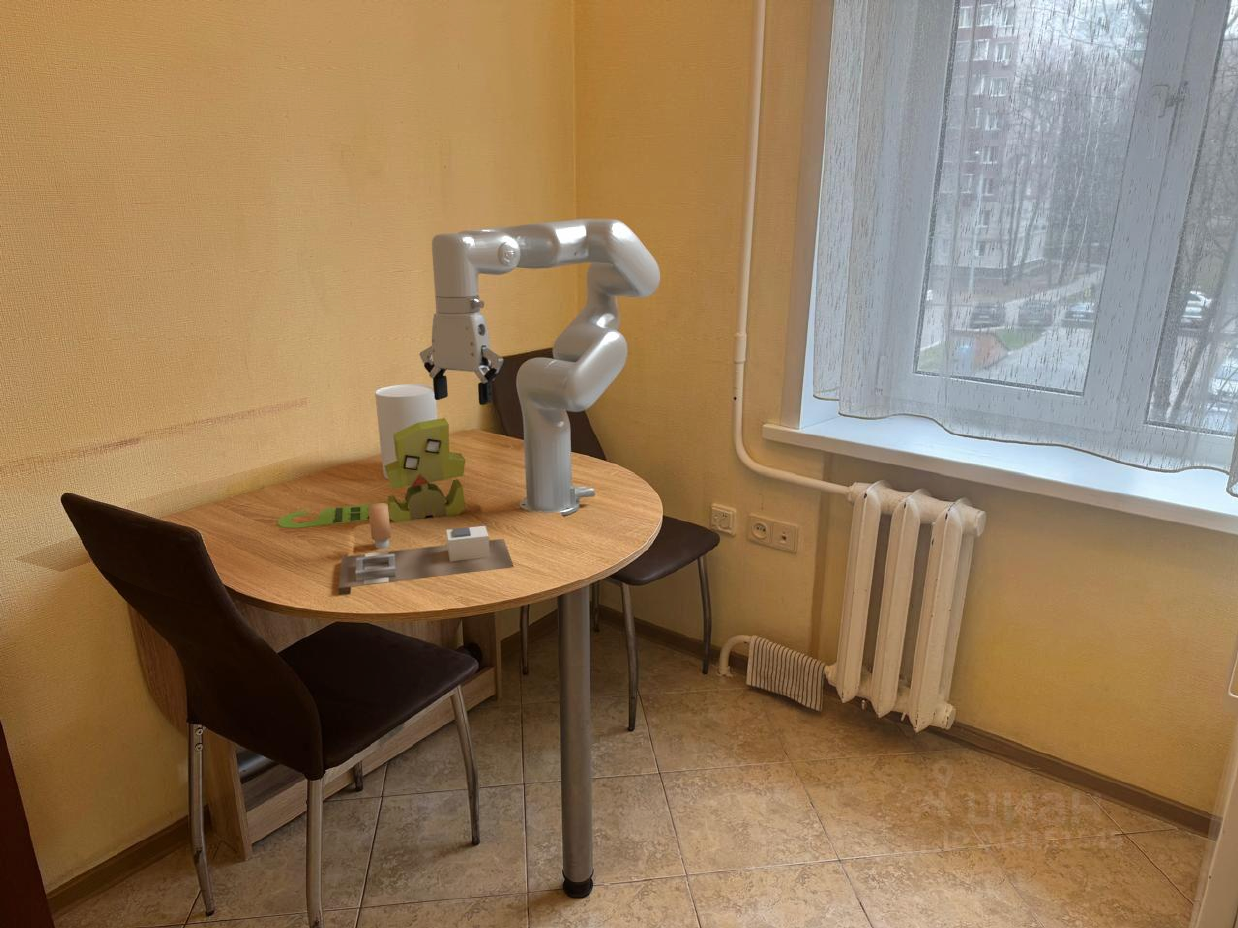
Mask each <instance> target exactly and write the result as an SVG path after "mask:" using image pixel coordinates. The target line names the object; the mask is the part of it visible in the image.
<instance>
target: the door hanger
mask: <svg viewBox="0 0 1238 928" xmlns="http://www.w3.org/2000/svg"><path fill="white" fill-rule="evenodd" d="M397 501H398V500H397ZM398 502H404V501H402V500H399V501H398ZM384 503H385V504H387V502H384ZM372 504H373V503H370V504H358V505H350V506H340V507H329V508H325V509H324V510H322V511H321V512H320V514H319V515H318V516H317V518H316V519H313V520H312V521H311V520H310V521H307V522H293V521H292V520H293V519H294V518H295V517H299V516H303V515H307V514H308V513H309V511H308V510H299V511H297V512H291V513H288V514H286V515H283V516H282V517H280V518H279V519H278V521H277V525H278V526H279V527H281V528H285V529H286V528H287V529H302V528H303V529H304V528H309V527H320V526H329V525H337V524H338V525H339V524H340V525H341V524H346V523H347V524H348V523H358V522H366V521H369V522H370V518H369V508H368V507H369V506H370V505H372Z"/></svg>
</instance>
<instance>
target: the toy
mask: <svg viewBox="0 0 1238 928" xmlns="http://www.w3.org/2000/svg"><path fill="white" fill-rule="evenodd" d="M449 425H450V424H449V423H448V421H447V419H446V418H445V417H443V418H438V419H436V420H430V421H424V422H419V423H416V424H414V425H412V426H410V427H408V428H406V429H404V430H402V431H400V432H398V433H396V434H394V443H395V453H396V458H397V461H395V462H393V463H390V464H387V465H385V469H386V473H387V476H388V479H387V480H388V482H389V484H390V487H391V490H392V491H393V490H397V489H402V488H407V487H408V488H407V491H406V492H405V493H406V494H405V496H404V501H403V502H398V500H397V498H396V497H395V496H394V495H392V494H389V495H387V498H386V499H387V500H386V503H387V505H388V512H389V520H391V521H393V522H394V523H399V522H406V521H407V522H408V521H414V520H423V519H425V518H426V517H427V516H432V517H433V518H443V517H454V516H455V517H456V516H460V515H461V513H463V511H464V510H465V509H466V508H467V506H466V500H465V499H466V498H465V494H464V488H463V487H464V486H462V484H461V482H460V480H459V479H458V478H459V477H463V476H464V472H465V467H466V465H465V464H466V459H465V457H464V456H463V454H462V453H461V452H452V451H451V452H450V426H449ZM455 478H457V479H455ZM449 479H453V480H452V482H451V485H450V489H449V491H448V494H447V495H446V496H445V495H444V493H443V491H442V490H441V489H440V487H439V486H438V485H437V484H435V483H436V482H440V481H445V480H449Z"/></svg>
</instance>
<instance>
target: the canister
mask: <svg viewBox="0 0 1238 928" xmlns="http://www.w3.org/2000/svg"><path fill="white" fill-rule="evenodd" d="M374 394H375V405H376V413H377V414H376V415H377V424H378V425H377V426H378V433H379V434H378V435H379V444H380V453H381V463H382V472H383V473H382V474H383V477H384V478H385V479H386V480H389V479H388V476H387V473H386V469H385V465H387V464H390V463H393V462H395V461H397V458H396V453H395V443H394V434H396V433H398V432H400V431H402V430H404V429H406V428H408V427H410V426H412V425H414V424H416V423H419V422H424V421H430V420H436V419H439V418H438V407H437V400H435V397H434V388H433V385H430V384H429V385H428V384H423V383H408V384H407V383H403V384H396V385H390V386H384V387H381V388H378V389H377V390H375V391H374Z"/></svg>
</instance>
